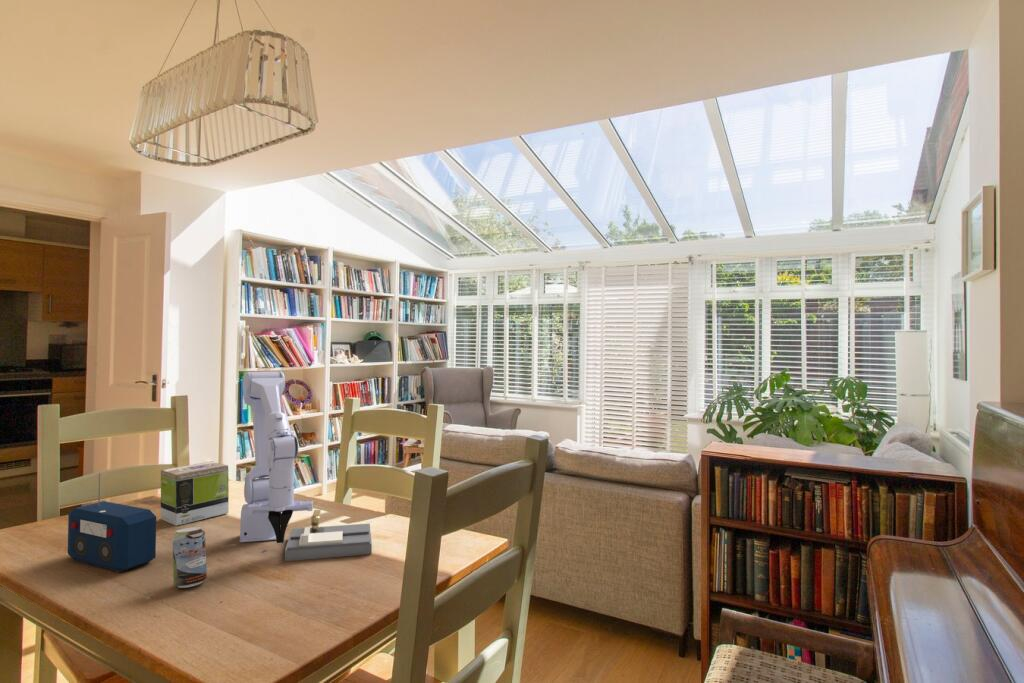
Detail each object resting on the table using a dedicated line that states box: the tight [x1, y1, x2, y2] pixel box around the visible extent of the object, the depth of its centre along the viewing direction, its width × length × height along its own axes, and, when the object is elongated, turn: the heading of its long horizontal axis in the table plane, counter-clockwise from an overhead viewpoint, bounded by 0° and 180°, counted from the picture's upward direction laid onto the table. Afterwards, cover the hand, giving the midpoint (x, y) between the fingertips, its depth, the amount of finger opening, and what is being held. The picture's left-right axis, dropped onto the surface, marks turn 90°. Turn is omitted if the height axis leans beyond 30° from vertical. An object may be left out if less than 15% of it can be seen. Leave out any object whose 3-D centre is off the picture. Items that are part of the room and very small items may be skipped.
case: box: [284, 523, 373, 562], centre depth 143 cm, size 20×16×3 cm
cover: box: [299, 527, 343, 546], centre depth 139 cm, size 10×6×3 cm, turn 106°
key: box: [310, 509, 322, 531], centre depth 149 cm, size 7×2×4 cm, turn 14°
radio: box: [67, 473, 157, 573], centre depth 131 cm, size 21×9×20 cm, turn 68°
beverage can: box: [172, 525, 208, 589], centre depth 119 cm, size 6×7×12 cm
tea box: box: [160, 460, 230, 527], centre depth 164 cm, size 15×10×15 cm
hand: (280, 541), depth 136 cm, fingers closed
